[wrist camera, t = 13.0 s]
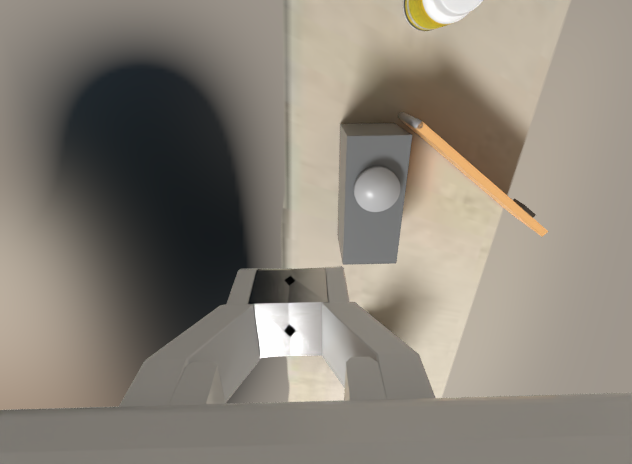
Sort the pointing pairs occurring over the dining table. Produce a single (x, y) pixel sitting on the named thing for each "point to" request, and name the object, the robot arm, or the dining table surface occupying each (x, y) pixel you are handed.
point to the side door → (472, 173)
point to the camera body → (371, 191)
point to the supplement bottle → (436, 12)
